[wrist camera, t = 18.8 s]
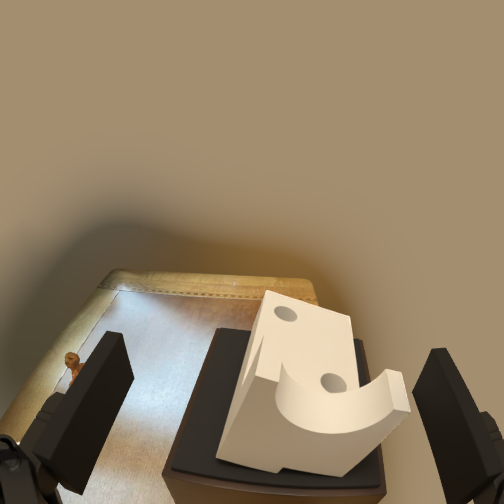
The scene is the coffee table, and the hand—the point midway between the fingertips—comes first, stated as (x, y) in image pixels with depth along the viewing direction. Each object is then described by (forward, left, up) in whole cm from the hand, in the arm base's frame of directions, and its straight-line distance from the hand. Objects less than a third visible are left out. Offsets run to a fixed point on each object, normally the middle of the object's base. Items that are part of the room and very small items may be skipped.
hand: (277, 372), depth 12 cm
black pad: (-1, -5, -8) cm, 10 cm away
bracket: (-2, -6, -8) cm, 10 cm away
